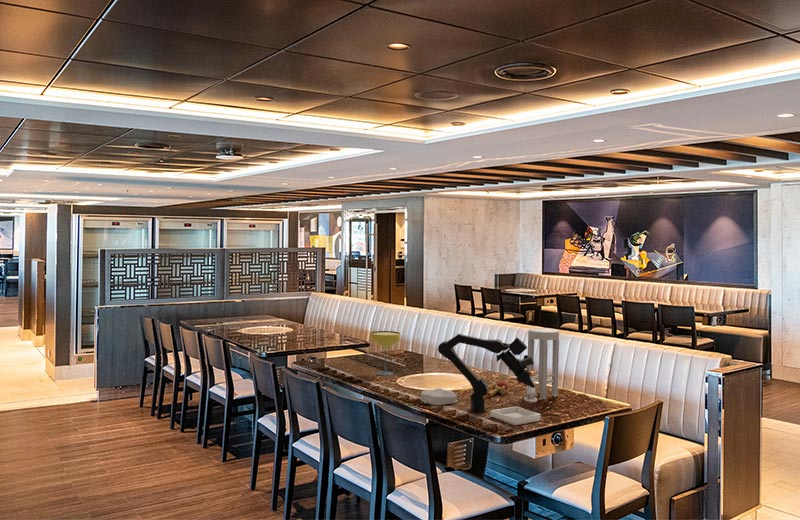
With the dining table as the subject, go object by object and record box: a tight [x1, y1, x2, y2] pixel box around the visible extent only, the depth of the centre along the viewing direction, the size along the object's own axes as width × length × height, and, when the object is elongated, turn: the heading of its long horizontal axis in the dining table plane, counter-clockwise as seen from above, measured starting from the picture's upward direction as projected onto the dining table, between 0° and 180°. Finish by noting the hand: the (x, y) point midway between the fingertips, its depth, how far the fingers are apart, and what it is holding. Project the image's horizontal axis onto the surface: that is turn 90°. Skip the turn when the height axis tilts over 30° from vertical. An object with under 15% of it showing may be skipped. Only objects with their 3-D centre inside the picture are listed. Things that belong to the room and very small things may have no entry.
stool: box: [526, 328, 560, 400], centre depth 344 cm, size 16×16×35 cm
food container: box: [419, 387, 458, 406], centre depth 331 cm, size 20×20×7 cm
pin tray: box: [490, 406, 542, 426], centre depth 299 cm, size 16×16×3 cm
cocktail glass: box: [370, 330, 401, 376], centre depth 395 cm, size 18×18×25 cm
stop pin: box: [523, 370, 538, 403], centre depth 306 cm, size 6×6×14 cm
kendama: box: [485, 381, 509, 398], centre depth 346 cm, size 8×6×18 cm
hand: (534, 386), depth 306 cm, fingers closed on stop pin, 4 cm apart
